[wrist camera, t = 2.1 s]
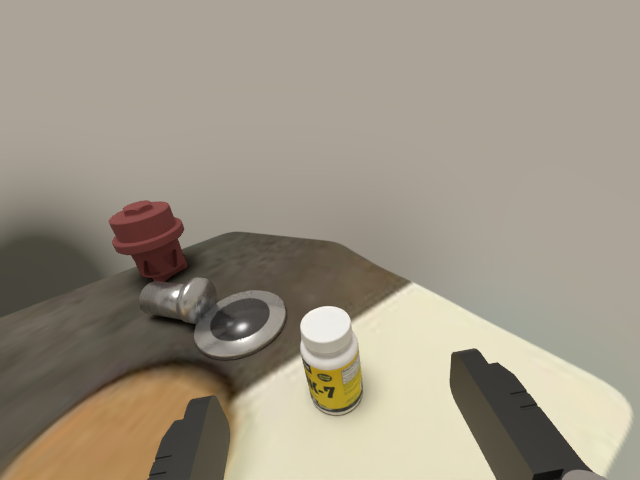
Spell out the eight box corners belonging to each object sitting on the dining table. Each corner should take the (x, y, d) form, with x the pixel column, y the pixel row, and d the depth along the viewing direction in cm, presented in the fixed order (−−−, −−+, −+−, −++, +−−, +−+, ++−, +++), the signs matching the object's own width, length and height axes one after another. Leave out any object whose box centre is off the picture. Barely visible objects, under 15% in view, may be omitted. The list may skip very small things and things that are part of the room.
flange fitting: (126, 339, 38) (105, 304, 35) (187, 286, 47) (174, 254, 44) (258, 368, 31) (245, 328, 29) (300, 299, 40) (292, 263, 37)
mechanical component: (158, 298, 45) (122, 284, 50) (210, 262, 52) (173, 254, 57) (121, 222, 39) (85, 215, 44) (185, 195, 47) (147, 191, 52)
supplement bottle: (300, 395, 28) (282, 327, 24) (334, 361, 31) (322, 295, 27) (340, 429, 25) (327, 356, 21) (373, 387, 28) (367, 316, 24)
